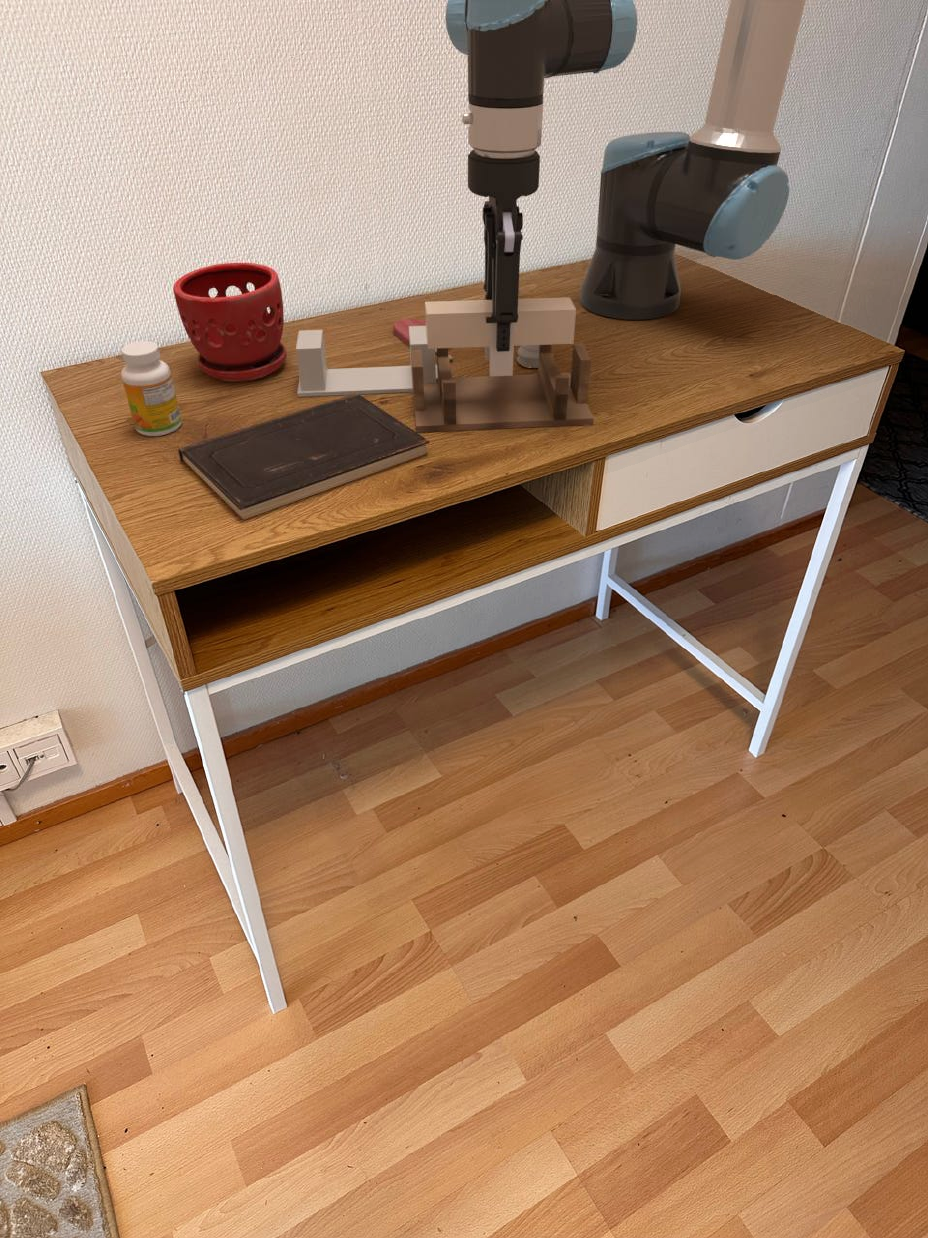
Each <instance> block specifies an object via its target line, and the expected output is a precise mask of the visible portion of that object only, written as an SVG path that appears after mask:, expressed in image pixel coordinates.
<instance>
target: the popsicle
mask: <svg viewBox="0 0 928 1238" xmlns="http://www.w3.org/2000/svg"><path fill="white" fill-rule="evenodd" d="M409 326H426V320H423V319H421V318H420V319H419V318H412V317H410V318H409V317H407V318H401V319H398V320H396V321H395V322H394V323H393V324H392V330H393V335H394V336H395V337H396V338H397V339H398V340H400V341H401V342H402V343H403V344H404V345H405V346H407V347H408V348H409V349H410V342H409ZM448 350H450V348H448ZM435 355H437V348H435ZM448 357H449V362H451V361H453V360H454V359H453V358H454V357H453V356H452V355H450V354H449V353H448Z"/></svg>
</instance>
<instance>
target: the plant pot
mask: <svg viewBox="0 0 928 1238" xmlns="http://www.w3.org/2000/svg"><path fill="white" fill-rule="evenodd" d="M249 283H250V284H252V285H253V287H254V290H252V291H250V290H249V289H248V286H247V285H248V284H249ZM230 287H235V288H237V289H238V290H239V291H240V293H241V294H240V293H239V294H237V295H229V296H227V290H228V289H229V288H230ZM211 289H216V292H217V294H216V295H215V296H214V297H211V296H210V290H211ZM172 290H173V295H174V300H175V304H176V307H177V309H178V310H177V311H178V314H179V318H180V320H181V323H182V325H183V327H184V330H185V332H186V334H187V336H188V338H189V340H190V342H191V344H192V345H193V347H194V349H195V350H196V351H197V353H199V354H198V357H197V364H198V366H199V368H200V369H201V370H202V372H204V373H205V374H207V375H208V376H210V377H212V378H214V379H216V380H221V381H226V382H245V381H250V380H260V379H261V378H264V377H265V376H269V375H270V374H272V373H274V372H276V371H277V370H278V369H279V368H280V367H281V366H282V365H283V364H284V362H285V360H286V357H287V348H286V346H285V344H283V343H282V342H281V341H282V337H283V331H284V325H285V323H284V321H285V319H284V318H285V316H284V301H283V294H282V293H283V292H282V291H283V290H282V287H281V281H280V278H279V274H278V273H277V272H276V270H274V269H273V268H271V266H266V265H264V264H258V263H254V262H225V263H219V264H213V265H208V266H204V267H200V268H197V269H195V270H193V271H190V272H188V273H186V274H184V275H182V276H181V277H179V278H178V279H177V280H176V281H175V282H174V284H173V288H172ZM268 308H269V311H268Z"/></svg>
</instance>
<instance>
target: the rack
mask: <svg viewBox="0 0 928 1238" xmlns="http://www.w3.org/2000/svg"><path fill="white" fill-rule="evenodd" d="M448 354H449V349H448V348H437V354H436V363H437V364H436V365H437V375H438V378H436V383H434V384H424V379H423V362H422V354H421V350H411V358H412V380H413V384H412V387H413V392H412V397H413V400H412V401H413V408H414V409H413V411H414V420H415V421H414V422H415V432H417V433H432V432H433V433H434V432H435V433H436V432H456V431H457V432H458V431H460V432H461V431H477V430H500V429H501V430H502V429H503V430H504V429H523V428H524V429H525V428H542V427H543V428H546V427H566V426H586V425H587V426H588V425H589V426H592V425H594V419H595V418H594V416H593V413H592V412H591V409H590V406H589V404H588V397H589V386H590V385H589V384H590V376H591V375H590V374H591V364H592V360H591V357H590V354H589V353H588V351H587V349H586V346H585V344H584V343H573V344H572V356H571V370H570V372H560V370H559V368H558V366H557V363H556V361H555V358H554V356H553V354H552V345H539V362H538V369H537V373H533V374H532V373H531V374H514V375H513V376H490V375H489V376H488V375H486V376H464V377H463V376H462V377H461V376H460V377H453V374H452V370H451V369H452V368H451V363H450V362H451V361H449V357H448Z"/></svg>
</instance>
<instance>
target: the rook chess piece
mask: <svg viewBox="0 0 928 1238" xmlns="http://www.w3.org/2000/svg"><path fill="white" fill-rule="evenodd" d="M516 353H517V357H516V361H517V363H518V365H520V364H521V365H523V366H526V367H531V368H538V362H539V345H523V346H520V347H519V348H518V349H517V352H516ZM521 365H520V366H521Z"/></svg>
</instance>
